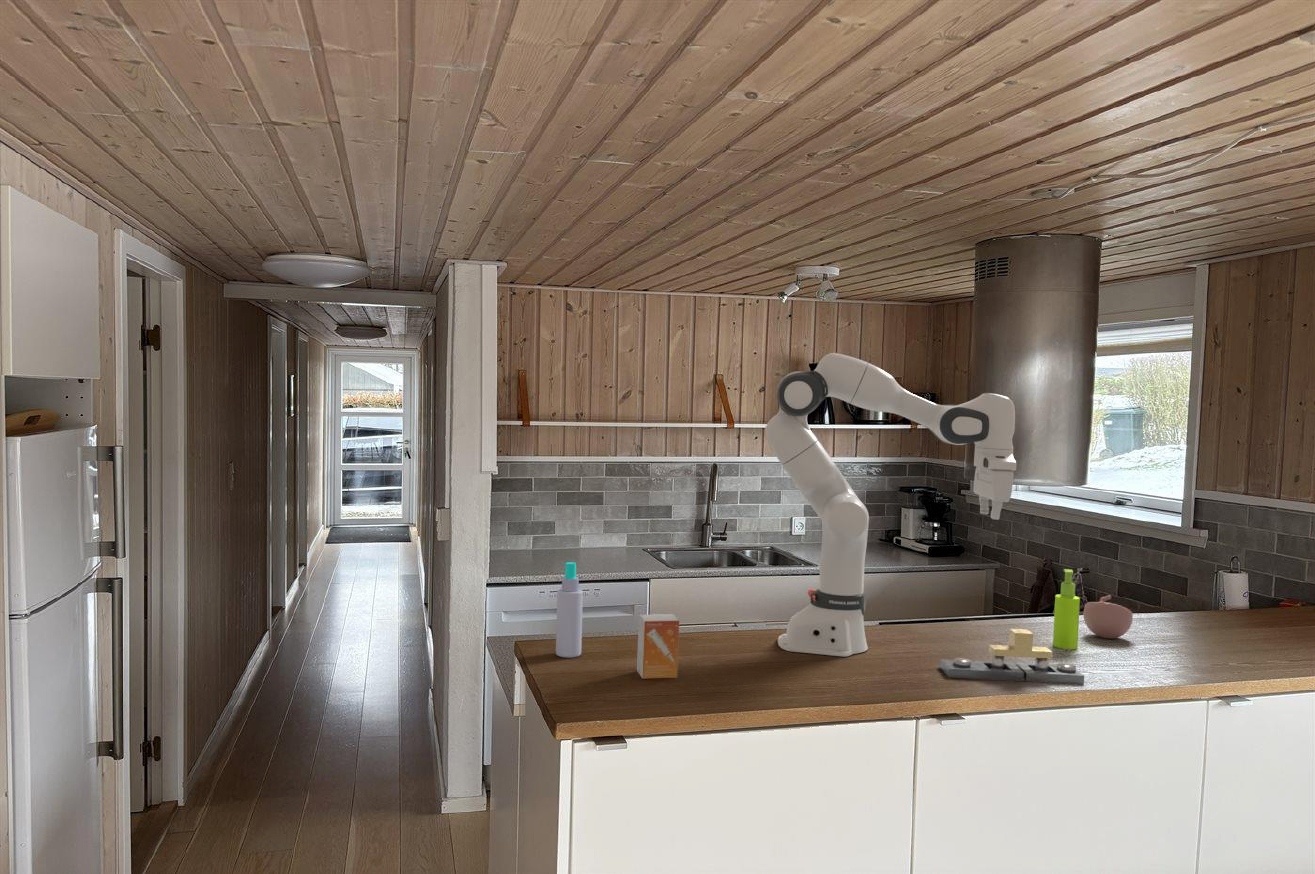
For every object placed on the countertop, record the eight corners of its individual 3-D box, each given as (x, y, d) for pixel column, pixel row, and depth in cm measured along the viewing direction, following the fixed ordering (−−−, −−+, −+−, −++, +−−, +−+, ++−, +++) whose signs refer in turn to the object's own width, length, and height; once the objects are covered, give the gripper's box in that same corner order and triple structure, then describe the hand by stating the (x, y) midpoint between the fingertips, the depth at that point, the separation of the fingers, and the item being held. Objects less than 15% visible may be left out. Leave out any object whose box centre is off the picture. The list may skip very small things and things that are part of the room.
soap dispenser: (1075, 643, 244) (1079, 568, 243) (1078, 650, 238) (1082, 573, 237) (1051, 641, 246) (1055, 566, 245) (1053, 647, 239) (1057, 571, 239)
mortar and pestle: (1133, 636, 254) (1135, 595, 253) (1128, 646, 243) (1131, 603, 243) (1085, 629, 260) (1087, 589, 259) (1079, 638, 250) (1081, 596, 249)
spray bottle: (577, 659, 216) (579, 566, 215) (552, 657, 217) (554, 564, 216) (584, 652, 222) (586, 561, 221) (560, 650, 223) (562, 560, 222)
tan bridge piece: (992, 677, 212) (994, 631, 211) (987, 671, 216) (989, 627, 215) (1050, 680, 211) (1053, 634, 211) (1044, 674, 215) (1047, 630, 215)
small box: (642, 679, 202) (644, 620, 202) (636, 671, 209) (638, 613, 208) (678, 678, 204) (679, 619, 204) (671, 669, 210) (672, 613, 210)
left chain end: (948, 677, 211) (948, 664, 210) (940, 667, 219) (940, 654, 218) (1023, 681, 209) (1024, 668, 209) (1012, 670, 217) (1013, 658, 217)
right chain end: (1026, 681, 209) (1026, 668, 209) (1015, 670, 217) (1015, 658, 217) (1083, 684, 208) (1084, 671, 208) (1070, 673, 216) (1071, 661, 216)
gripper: (969, 456, 236) (965, 510, 237) (991, 462, 216) (987, 521, 216) (994, 458, 235) (991, 512, 236) (1019, 463, 215) (1015, 522, 216)
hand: (989, 516), depth 226 cm, fingers open, 8 cm apart
